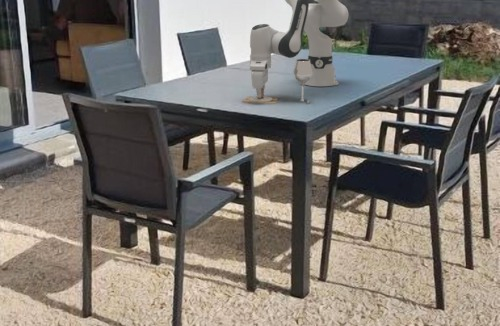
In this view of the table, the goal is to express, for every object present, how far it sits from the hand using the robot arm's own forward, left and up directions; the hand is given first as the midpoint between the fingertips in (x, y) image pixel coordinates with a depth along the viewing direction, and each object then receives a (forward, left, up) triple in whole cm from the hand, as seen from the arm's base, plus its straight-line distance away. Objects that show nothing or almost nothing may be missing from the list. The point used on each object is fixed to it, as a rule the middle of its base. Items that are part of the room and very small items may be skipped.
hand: (260, 95), depth 276 cm
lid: (0, 0, -2) cm, 2 cm away
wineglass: (-1, +18, -3) cm, 18 cm away
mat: (0, 0, -2) cm, 2 cm away
